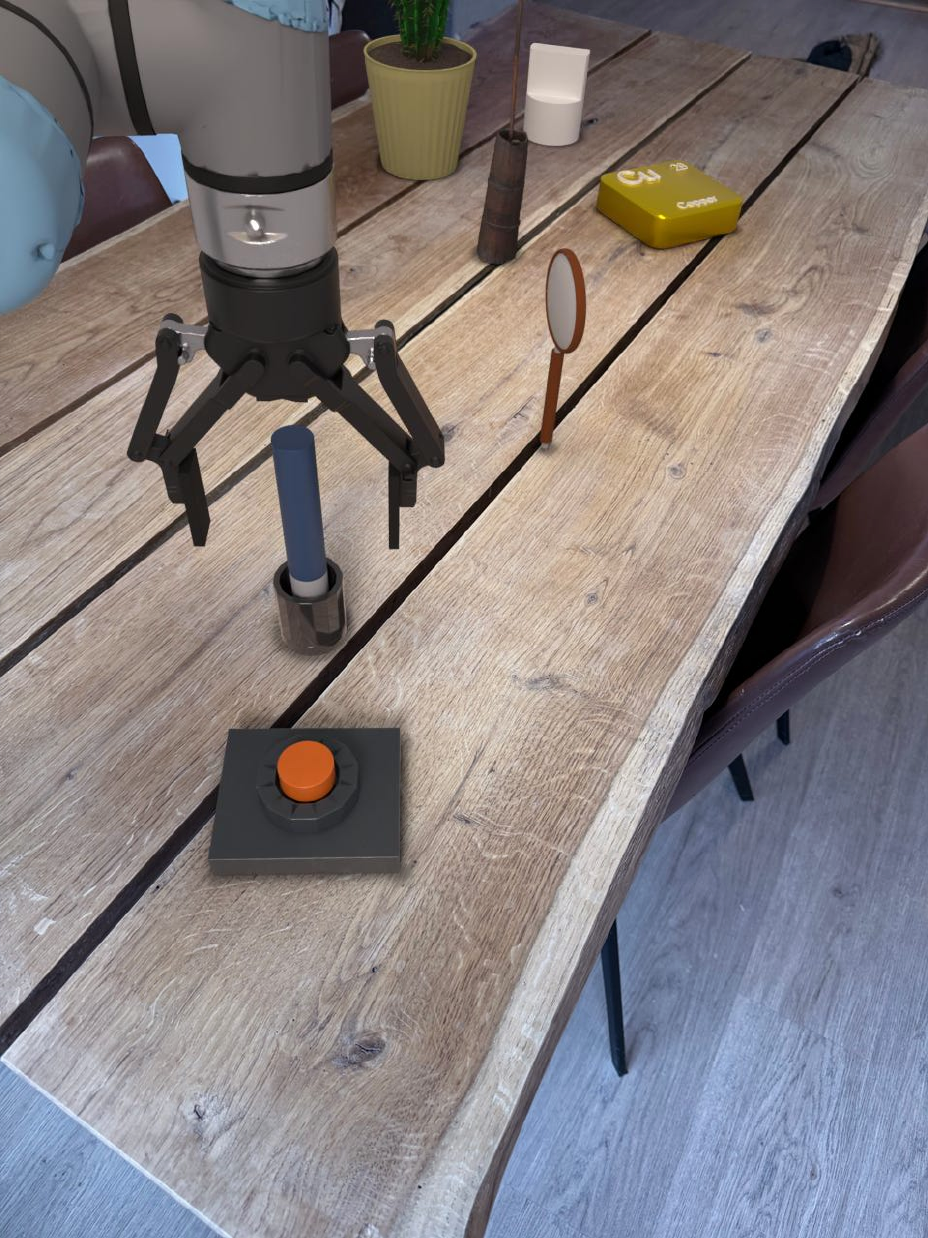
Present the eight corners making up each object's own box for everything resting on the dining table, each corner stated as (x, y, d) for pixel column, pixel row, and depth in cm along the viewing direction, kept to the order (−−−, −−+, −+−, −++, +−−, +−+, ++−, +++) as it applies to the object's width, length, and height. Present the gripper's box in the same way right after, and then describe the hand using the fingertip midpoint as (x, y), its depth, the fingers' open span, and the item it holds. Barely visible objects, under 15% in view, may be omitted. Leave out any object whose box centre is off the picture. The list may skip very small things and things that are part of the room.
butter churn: (531, 281, 112) (559, 19, 91) (456, 271, 113) (467, 9, 92) (540, 247, 118) (568, -6, 97) (468, 238, 119) (481, -14, 98)
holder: (278, 655, 71) (269, 603, 66) (284, 606, 74) (276, 554, 70) (345, 655, 71) (341, 603, 67) (348, 606, 74) (344, 554, 70)
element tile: (654, 252, 119) (662, 216, 115) (590, 206, 127) (595, 170, 124) (741, 231, 124) (751, 195, 121) (674, 188, 133) (681, 153, 129)
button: (277, 802, 58) (274, 788, 57) (282, 755, 60) (280, 740, 59) (334, 802, 58) (332, 787, 57) (337, 754, 61) (335, 740, 59)
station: (213, 876, 58) (202, 846, 55) (233, 746, 65) (224, 713, 62) (399, 873, 59) (398, 843, 56) (400, 744, 66) (400, 712, 63)
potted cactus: (485, 154, 138) (500, -92, 115) (448, 194, 128) (456, -68, 106) (393, 136, 141) (389, -108, 119) (349, 173, 131) (337, -85, 109)
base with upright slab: (582, 128, 147) (593, 43, 138) (574, 148, 141) (585, 62, 132) (528, 120, 148) (535, 36, 139) (517, 141, 142) (524, 54, 133)
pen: (294, 635, 71) (268, 450, 57) (297, 609, 73) (272, 424, 59) (330, 635, 71) (312, 451, 58) (332, 609, 73) (315, 424, 59)
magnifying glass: (524, 423, 92) (546, 230, 78) (540, 422, 93) (566, 229, 78) (548, 476, 87) (577, 279, 72) (565, 474, 87) (597, 278, 72)
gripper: (10, 271, 46) (108, 569, 61) (501, 288, 47) (475, 574, 63) (49, 206, 51) (131, 497, 66) (493, 223, 52) (470, 503, 68)
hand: (299, 535), depth 65 cm, fingers open, 13 cm apart
